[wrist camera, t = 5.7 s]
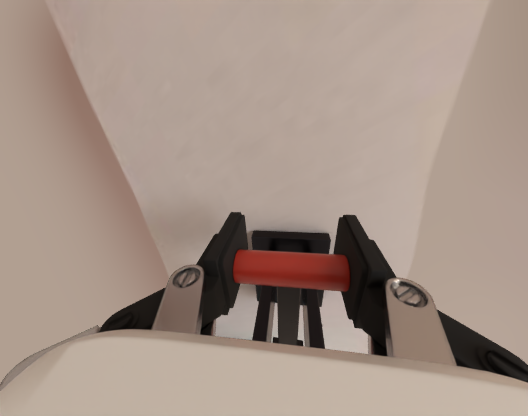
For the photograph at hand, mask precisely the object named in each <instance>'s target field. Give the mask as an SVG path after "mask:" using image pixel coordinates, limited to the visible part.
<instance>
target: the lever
mask: <svg viewBox="0 0 528 416" xmlns="http://www.w3.org/2000/svg"><path fill="white" fill-rule="evenodd" d="M233 279H234V282H235V283H241V284H253V285H266V286H277V305H278V338H276V337H273V343H278V344H287V345H295V346H303V341H302V340H297V338H298V324H299V309H300V294H301V288H305V289H317V290H330V291H343V292H346V291H348V290H349V287H350V267H349V262H348V259H347V257H346V256H345V255H336V254H317V253H298V252H280V251H261V250H242V249H239V250H238V251H237V252H236V255H235V258H234V263H233Z"/></svg>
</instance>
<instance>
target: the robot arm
mask: <svg viewBox="0 0 528 416" xmlns="http://www.w3.org/2000/svg"><path fill="white" fill-rule="evenodd" d="M239 249H242V250H248V242H247V233H246V223H245V216H244V215H242V214H241V212H231V213H230V215H229V216H228V218H227V220H226V221H225V223H224V225H223V227H222V228H221V230H220V232H219V233H218V234H215V235H214V236H213V238H212V239H211V241H210V243H209V244H208V246H207V248H206V249H205V251H204V253H203V254H202V256H201V257H200V259H199V261H198V262H197V264H196V265H187V266H184V267H181V268H179V269H178V270H176V271H175V272H174V273H173V274H172V275H171V277H170V278H169V281H168V284H167V287H166V288H163V289H162V290H160V291H158V292H156V293H154V294H152V295H150V296H148V297H146V298H144V299H142V300H140V301H138V302H136V303H134V304H132V305H130V306H128V307H126V308H124V309H122V310H120V311H118V312H117V313H115V314H114V315H112V316H111V317H110V318H109V319H108V320H107V321H106V322H105V323H104V324H103V325H102V327H100V328H99V326H98V325H97V326H95V327H93V328H90V329H88V330H86V331H84V332H81V333H79V334H77V335H75V336H73V337H70V338H68V339H66V340H64V341H61V342H59V343H57V344H55V345H52V346H50V347H48V348H46V349H43V350H41V351H39V352H37V353H35V354H33V355H31V356H29V357H27V358H26V359H24V360H23V361H22V362H20V363H19V364H18V365H16V366H15V367H14V368H13V369H12V370H11V371H10V372H9V373H8V374H7V375H6V376H5V378H4V379H3V381H2V382H1V384H0V416H528V365H527V364H526V363H525V362H524V361H522V360H521V359H520V358H519V357H517V356H515V355H514V354H513V353H511V352H510V351H508V350H506V349H505V348H503V347H501V346H499V345H498V344H496V343H494V342H492V341H491V340H489V339H487V338H485V337H484V336H482V335H480V334H478V333H477V332H475V331H473V330H471V329H470V328H468V327H466V326H465V325H463V324H461V323H459V322H458V321H456V320H454V319H452V318H451V317H449V316H447V315H445V314H444V313H442V312H440V311H439V310H437V309H436V306H435V304H434V301H433V299H432V297H431V295H430V294H429V293H428V292H427V291H426V290H425V289H424V288H423V287H421V286H420V285H419V284H417V283H415V282H413V281H411V280H408V279H404V278H397V277H396V276H395V274H394V272H393V271H392V269H391V268H390V266H389V264H388V263H387V261H386V259H385V258H384V256H383V254H382V253H381V251H380V249H379V248H378V246H377V245H376V243H375V242H374V240H369V238H368V236H367V234H366V233H365V231H364V229H363V228H362V226H361V224H360V222H359V221H358V219H357V217H356V216H355V215H343V217H340V218H339V222H338V228H337V235H336V241H335V247H334V254H336V255H345V256H346V257H347V259H348V262H349V267H350V287H349V290H348V291H346V292H343V291H341V293H342V297H343V300H344V304H345V308H346V312H347V316H348V318H349V319H352V320H353V323H354V327H355V328H361V329H363V331H365V332H366V333H367V334H368V354H362V353H354V352H346V351H337V350H329V349H321V348H312V347H304V346H295V345H287V344H278V343H269V342H261V341H252V340H243V339H234V338H225V337H216V336H215V332H216V319H217V318H218V317H220V316H221V315H228V312H229V308H233V306H234V303H235V300H236V296H237V293H238V290H239V286H240V283H235V282H234V279H233V263H234V258H235V255H236V252H237V251H238V250H239Z"/></svg>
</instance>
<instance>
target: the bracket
mask: <svg viewBox="0 0 528 416" xmlns="http://www.w3.org/2000/svg"><path fill="white" fill-rule="evenodd" d="M330 242H331V239H330V236H329V234H328V233H302V232H276V231H253V234H252V247H253V250H261V251H280V252H298V253H317V254H329V249H330ZM256 293H257V301H259V305H258V310H257V316H256V322H255V327H254V333H253V339H252V341H261V342H269V343H271V338H272V327H273V317H274V306H275V303H277V286H266V285H256ZM323 293H324V290H317V289H305V288H301V294H300V305H303V321H304V341H305V347H312V348H321V349H325V345H324V338H323V330H322V323H321V316H320V308H319V307H321V306H322V300H323Z"/></svg>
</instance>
